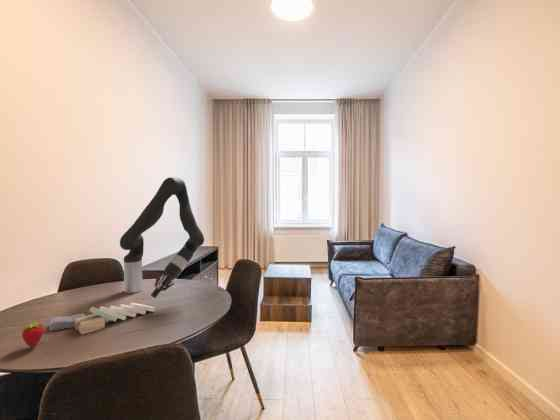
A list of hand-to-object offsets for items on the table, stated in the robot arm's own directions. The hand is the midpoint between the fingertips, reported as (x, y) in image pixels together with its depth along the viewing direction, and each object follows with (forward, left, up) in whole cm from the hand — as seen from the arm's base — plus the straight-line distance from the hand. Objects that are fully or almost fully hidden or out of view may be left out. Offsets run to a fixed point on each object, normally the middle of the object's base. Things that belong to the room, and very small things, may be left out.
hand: (152, 296), depth 140 cm
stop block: (0, -26, -6) cm, 27 cm away
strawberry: (+3, -45, -7) cm, 45 cm away
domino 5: (0, 0, -6) cm, 6 cm away
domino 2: (0, -13, -6) cm, 15 cm away
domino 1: (0, -17, -5) cm, 18 cm away
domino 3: (0, -9, -6) cm, 11 cm away
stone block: (-11, -31, -7) cm, 33 cm away
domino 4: (0, -5, -6) cm, 7 cm away
